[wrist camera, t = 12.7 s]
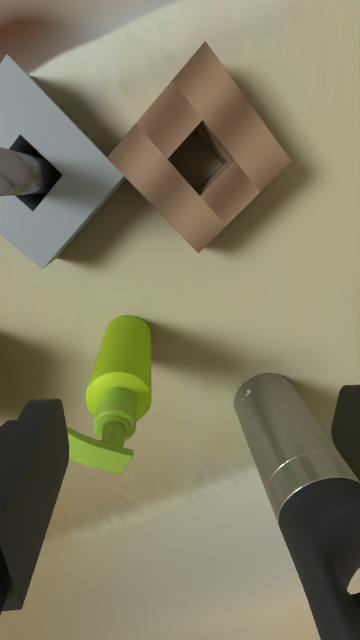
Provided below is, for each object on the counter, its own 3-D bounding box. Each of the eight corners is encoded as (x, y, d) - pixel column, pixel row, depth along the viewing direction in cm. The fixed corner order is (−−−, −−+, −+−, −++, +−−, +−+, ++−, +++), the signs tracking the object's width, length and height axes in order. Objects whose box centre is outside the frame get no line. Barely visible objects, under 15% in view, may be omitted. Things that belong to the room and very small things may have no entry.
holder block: (272, 164, 34) (291, 161, 29) (192, 245, 36) (198, 253, 32) (196, 63, 30) (205, 41, 25) (113, 162, 32) (106, 158, 28)
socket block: (127, 177, 33) (123, 175, 28) (56, 258, 35) (42, 268, 31) (29, 75, 29) (6, 54, 24) (-43, 175, 31) (-75, 173, 27)
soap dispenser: (108, 304, 38) (70, 412, 20) (159, 327, 40) (166, 445, 22) (90, 342, 40) (38, 473, 22) (138, 362, 42) (129, 500, 23)
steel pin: (68, 176, 32) (26, 171, 21) (49, 199, 33) (-1, 206, 22) (42, 151, 31) (-17, 132, 20) (23, 176, 32) (-44, 170, 21)
